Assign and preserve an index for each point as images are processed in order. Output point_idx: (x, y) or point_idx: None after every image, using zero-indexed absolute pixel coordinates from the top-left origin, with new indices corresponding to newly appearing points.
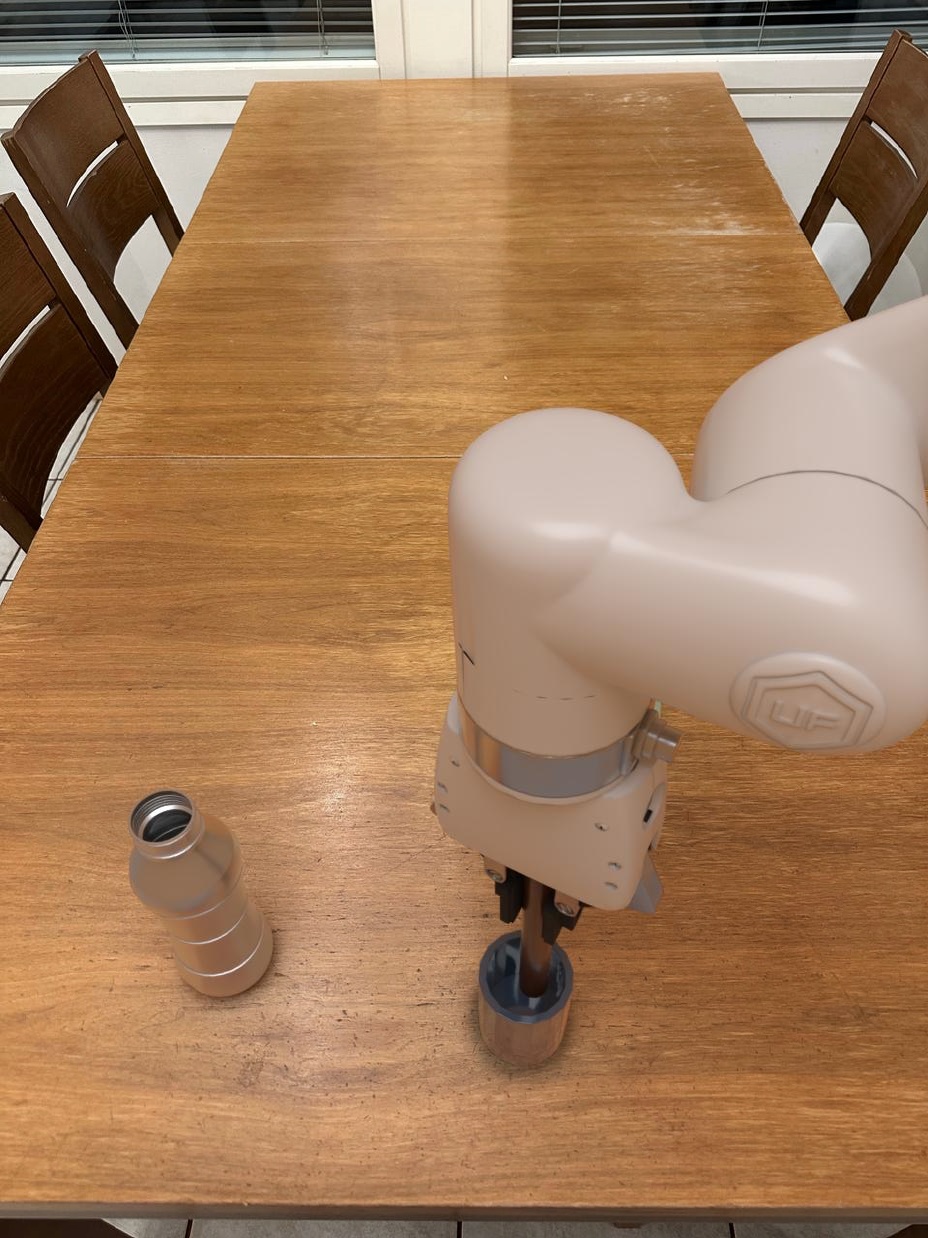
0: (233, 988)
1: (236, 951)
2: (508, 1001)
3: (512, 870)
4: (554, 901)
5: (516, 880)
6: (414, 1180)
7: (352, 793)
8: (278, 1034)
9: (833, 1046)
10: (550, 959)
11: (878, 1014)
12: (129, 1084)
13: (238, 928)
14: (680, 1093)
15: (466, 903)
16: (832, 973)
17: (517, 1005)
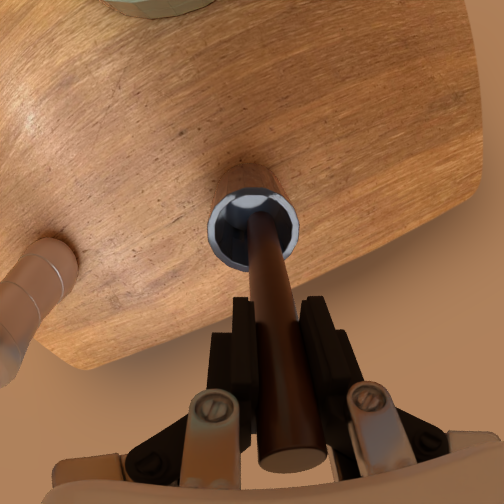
0: (71, 290)
1: (53, 300)
2: (236, 202)
3: (243, 449)
4: (328, 454)
5: (251, 427)
6: (231, 306)
7: (37, 109)
8: (111, 280)
9: (446, 123)
10: (281, 250)
11: (464, 94)
12: (75, 329)
13: (41, 307)
14: (369, 190)
15: (161, 133)
16: (439, 74)
17: (244, 201)
